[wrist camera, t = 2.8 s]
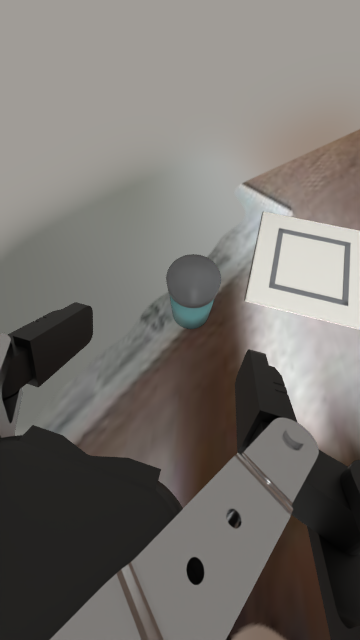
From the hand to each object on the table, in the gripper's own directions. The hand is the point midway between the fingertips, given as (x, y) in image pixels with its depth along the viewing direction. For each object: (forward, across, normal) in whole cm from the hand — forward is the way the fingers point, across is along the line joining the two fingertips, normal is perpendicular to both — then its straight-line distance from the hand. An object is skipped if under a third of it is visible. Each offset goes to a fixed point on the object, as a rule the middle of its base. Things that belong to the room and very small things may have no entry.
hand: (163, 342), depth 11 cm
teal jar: (+14, 0, +4) cm, 15 cm away
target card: (+21, -13, -3) cm, 25 cm away
